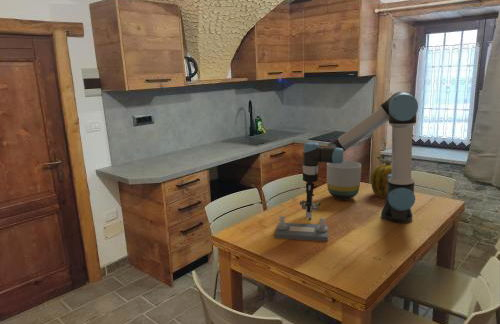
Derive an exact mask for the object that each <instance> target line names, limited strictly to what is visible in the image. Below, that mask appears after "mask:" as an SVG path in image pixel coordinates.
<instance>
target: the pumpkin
mask: <svg viewBox="0 0 500 324" xmlns="http://www.w3.org/2000/svg"><path fill="white" fill-rule="evenodd" d="M381 157H382V156H381V155H379V154H378V155H377V157H376V159H377V160H379V161H380V162H382V164H378V165H377V166H375V168H374V169H373V170H372V172H371V176H370V185H371V189H372V191H373V193H374V194H375V195H376V196H377V197H380V198H384V199H386V186H387V176H388V175H389V174H391V170H392V163H390V161H388V160H387V159H385V158H381Z"/></svg>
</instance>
